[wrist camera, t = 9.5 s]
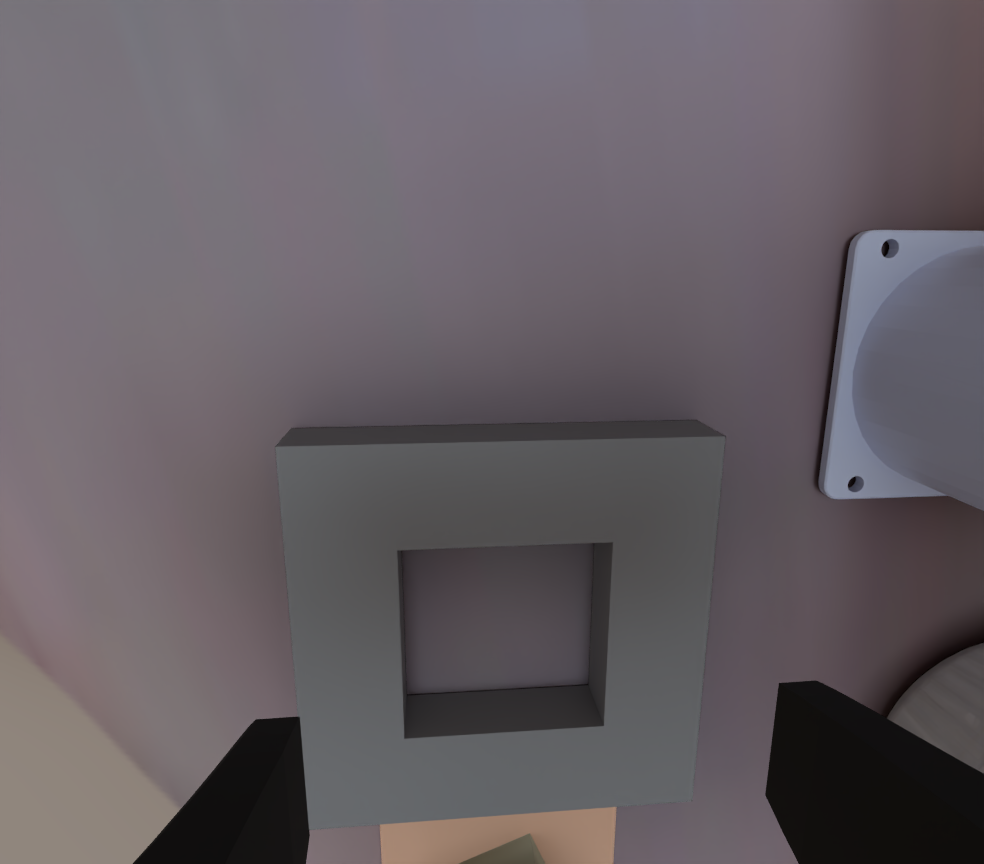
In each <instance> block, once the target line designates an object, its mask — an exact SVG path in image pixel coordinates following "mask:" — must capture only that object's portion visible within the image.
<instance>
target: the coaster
mask: <svg viewBox="0 0 984 864" xmlns="http://www.w3.org/2000/svg"><path fill="white" fill-rule="evenodd" d="M615 823H616V807H608V808H595V809H581V810H568V811H554V812H541V813H528V814H514V815H501V816H488V817H474V818H461V819H448V820H434V821H421V822H408V823H394V824H381V825H380V836H381V856H382V864H459V863H461V862H463V861H466V860H468V859H470V858H473V857H475V856H477V855H480V854H482V853H484V852H487V851H489V850H492V849H494V848H496V847H499V846H501V845H503V844H506V843H508V842H510V841H513V840H515V839H517V838H520V837H522V836H524V835H527V834H529V833H530V834H531V836H532V838H533V840H534V842H535V844H536V846H537V848H538V850H539V852H540V854H541V856H542V858H543V860H544V862H545V864H613V858H614V840H615Z"/></svg>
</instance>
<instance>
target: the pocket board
mask: <svg viewBox="0 0 984 864" xmlns="http://www.w3.org/2000/svg"><path fill="white" fill-rule="evenodd" d="M725 438H726V436H724V435H722V434H721V433H719V432H717V431H715V430H713V429H712V428H710V427H708V426H706V425H705V424H703V423H701V422H699V421H697V420H671V421H622V422H573V423H525V424H476V425H428V426H379V427H330V428H291V429H290V431H289V432H288V433H287V434H286V435H285V436H284V437H283V438H282V440H281V441H280V442H279V443H278V444H277V445H276V446H275V451H276V463H277V475H278V487H279V499H280V510H281V522H282V534H283V546H284V558H285V570H286V582H287V594H288V605H289V617H290V629H291V641H292V653H293V665H294V677H295V688H296V700H297V712H298V717H300V725H301V738H302V750H303V762H304V774H305V786H306V798H307V811H308V823H309V830H314V829H327V828H341V827H354V826H367V825H381V824H394V823H408V822H421V821H434V820H448V819H461V818H474V817H488V816H501V815H514V814H528V813H541V812H554V811H568V810H581V809H595V808H608V807H621V806H635V805H648V804H661V803H675V802H688V801H692V798H693V787H694V776H695V765H696V754H697V743H698V732H699V721H700V710H701V700H702V689H703V678H704V667H705V656H706V645H707V634H708V623H709V612H710V601H711V590H712V580H713V569H714V558H715V547H716V536H717V525H718V514H719V503H720V492H721V481H722V471H723V460H724V449H725ZM582 543H594V562H593V586H592V610H591V633H590V657H589V680H588V685H581V686H564V687H546V688H529V689H512V690H494V691H477V692H459V693H442V694H425V695H407V687H406V659H405V632H404V604H403V577H402V550H422V549H449V548H475V547H502V546H529V545H555V544H582Z"/></svg>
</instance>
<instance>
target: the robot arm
mask: <svg viewBox="0 0 984 864" xmlns="http://www.w3.org/2000/svg"><path fill="white" fill-rule="evenodd" d="M885 241H887V242H888V244H889V251H888V254H887V255H886V256H885V257H884V256H883V255H882V252H881V248H882V245H883V243H884V242H885ZM855 476H856V481H855V483H854V485H853V486H852V487H849V488H848V482H849V480H850V479H851V478H852V477H855ZM819 488H820V490H821V492H822V493H823V494H825V495H826V496H828V497H830V498H832V499H868V498H898V497H929V496H950V497H952V498H955V499H957V500H959V501H962V502H964V503H966V504H968V505H971V506H973V507H975V508H978V509H980V510H982V511H984V231H947V230H870V231H864V232H861V233H859V234H858V235H856V236H855V237H854V238H853V240H852V241H851V243H850V247H849V251H848V259H847V267H846V274H845V282H844V290H843V297H842V305H841V313H840V320H839V328H838V336H837V343H836V351H835V359H834V366H833V374H832V382H831V390H830V397H829V405H828V413H827V420H826V428H825V436H824V443H823V451H822V459H821V466H820V474H819ZM766 797H767V799H768V801H769V804H770V806H771V808H772V810H773V812H774V814H775V816H776V818H777V821H778V823H779V825H780V827H781V829H782V831H783V833H784V835H785V837H786V839H787V841H788V843H789V845H790V847H791V849H792V851H793V853H794V855H795V857H796V859H797V861H798V863H799V864H984V773H982V772H980V771H978V770H976V769H975V768H973V767H971V766H969V765H967V764H966V763H964V762H962V761H960V760H959V759H957V758H955V757H953V756H952V755H950V754H948V753H946V752H944V751H943V750H941V749H939V748H937V747H936V746H934V745H932V744H930V743H929V742H927V741H925V740H923V739H922V738H920V737H918V736H916V735H915V734H913V733H911V732H909V731H908V730H906V729H904V728H903V727H901V726H899V725H897V724H896V723H894V722H892V721H890V720H889V719H887V718H885V717H883V716H882V715H880V714H878V713H876V712H875V711H873V710H871V709H869V708H868V707H866V706H864V705H862V704H860V703H859V702H857V701H855V700H853V699H851V698H850V697H848V696H846V695H844V694H842V693H840V692H838V691H836V690H835V689H833V688H831V687H829V686H827V685H825V684H823V683H820V682H818V681H803V682H789V683H779V688H778V696H777V704H776V712H775V720H774V729H773V737H772V745H771V753H770V762H769V770H768V778H767V786H766ZM308 843H309V823H308V811H307V798H306V786H305V774H304V762H303V750H302V738H301V725H300V717H286V718H272V719H257V720H255V721H254V722H253V723H252V724H251V725H250V726H249V727H248V728H247V729H246V731H245V732H244V733H243V734H242V736H241V737H240V738H239V739H238V740H237V742H236V743H235V744H234V745H233V747H232V748H231V749H230V750H229V752H228V753H227V754H226V755H225V757H224V758H223V759H222V760H221V762H220V763H219V764H218V765H217V767H216V768H215V769H214V770H213V771H212V773H211V774H210V775H209V776H208V777H207V779H206V780H205V781H204V782H203V784H202V785H201V786H200V787H199V788H198V790H197V791H196V792H195V793H194V794H193V796H192V797H191V798H190V799H189V800H188V801H187V803H186V804H185V805H184V806H183V807H182V808H181V809H180V811H179V812H178V813H177V814H176V815H175V816H174V818H173V819H172V820H171V821H170V822H169V823H168V825H167V826H166V827H165V828H164V829H163V830H162V831H161V833H160V834H159V835H158V836H157V838H155V840H154V841H153V842H152V843H151V844H150V845H149V846H148V847H147V849H146V850H145V851H144V852H143V853H142V854H141V855H140V856H139V857H138V858H137V860H136V861H135V862H134V863H133V864H306V858H307V850H308Z"/></svg>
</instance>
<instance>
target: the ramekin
mask: <svg viewBox="0 0 984 864" xmlns="http://www.w3.org/2000/svg"><path fill="white" fill-rule="evenodd" d="M887 719H889V720H890V721H892V722H894V723H896V724H897V725H899V726H901V727H903V728H904V729H906V730H908V731H909V732H911V733H913V734H915V735H916V736H918V737H920V738H922V739H923V740H925V741H927V742H929V743H930V744H932V745H934V746H936V747H937V748H939V749H941V750H943V751H944V752H946V753H948V754H950V755H952V756H953V757H955V758H957V759H959V760H960V761H962V762H964V763H966V764H967V765H969V766H971V767H973V768H975V769H976V770H978V771H980V772H982V773H984V643H981V644H978V645H975V646H972V647H969V648H967V649H964V650H962V651H960V652H958V653H956V654H954V655H952V656H950V657H948V658H946V659H944V660H943V661H941V662H940V663H938V664H937V665H935V666H934V667H932V668H931V669H930V670H928V671H927V672H926V673H924V674H923V675H922V676H921V677H920V678H918V679H917V680H916V681H915V682H914V683H913V684H912V685H911V686H910V687H909V688H908V689H907V690H906V691H905V692H904V694H903V695H902V696H901V697H900V699H899V700H898V701H897V703H896V704H895V706H894V707H893V709H892V710H891V711H890V713H889V715H888V717H887Z"/></svg>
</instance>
